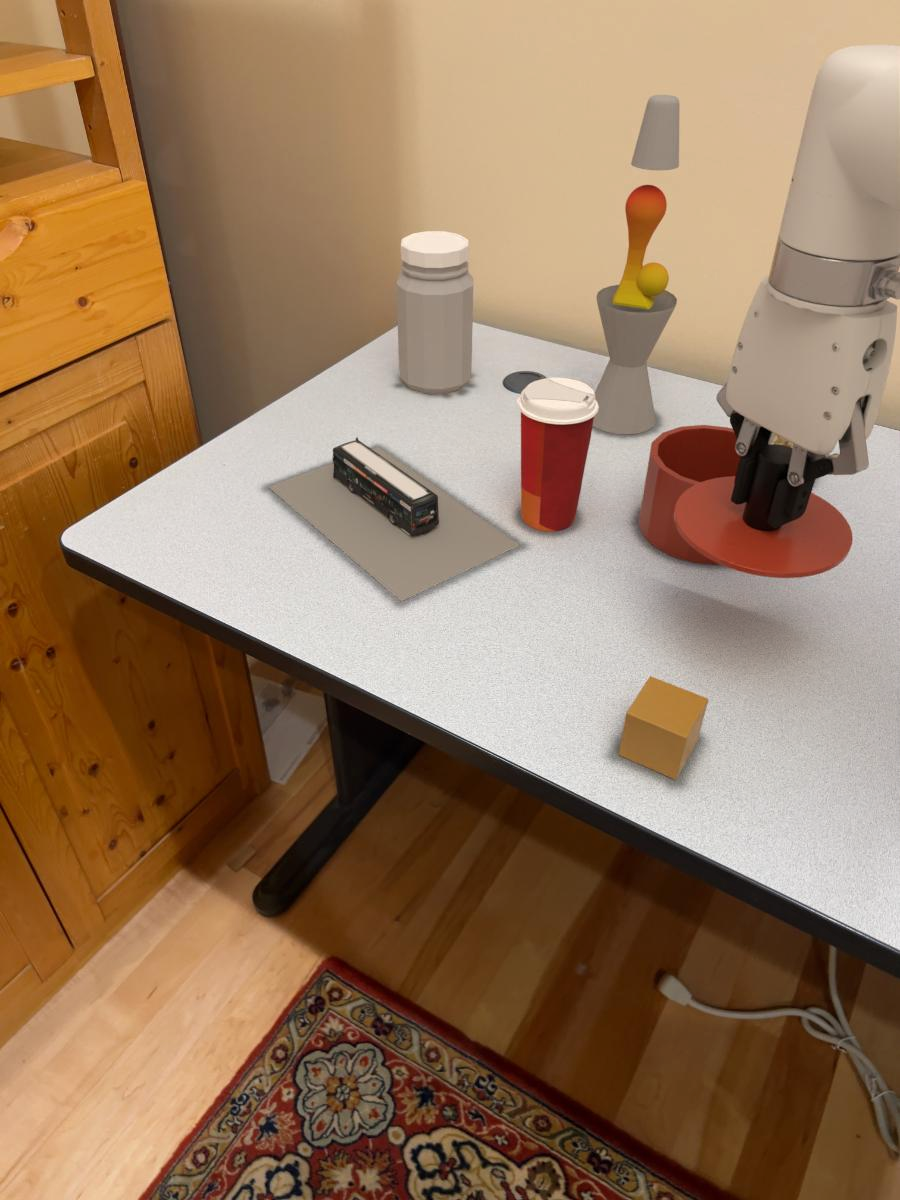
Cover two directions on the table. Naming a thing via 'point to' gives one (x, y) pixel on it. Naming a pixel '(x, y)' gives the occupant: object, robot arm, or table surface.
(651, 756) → the block
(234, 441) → the table surface
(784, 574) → the lid
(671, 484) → the pot
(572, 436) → the paper cup
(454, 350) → the jar
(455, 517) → the flat grey placemat
